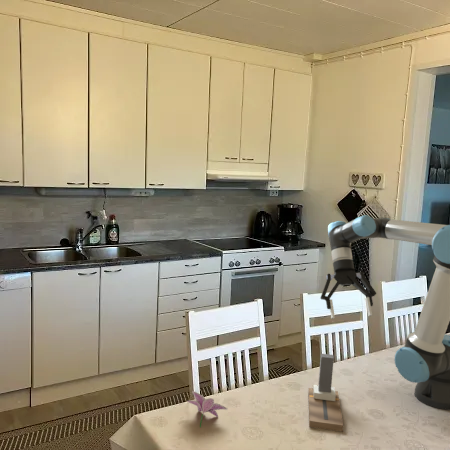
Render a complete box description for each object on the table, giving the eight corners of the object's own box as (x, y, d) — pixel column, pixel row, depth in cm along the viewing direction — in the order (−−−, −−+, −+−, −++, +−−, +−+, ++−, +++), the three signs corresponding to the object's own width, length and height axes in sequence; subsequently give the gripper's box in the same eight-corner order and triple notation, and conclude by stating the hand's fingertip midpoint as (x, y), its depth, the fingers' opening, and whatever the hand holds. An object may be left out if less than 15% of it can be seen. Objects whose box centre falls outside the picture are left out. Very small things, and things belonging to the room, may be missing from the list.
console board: (308, 393, 163) (308, 387, 162) (337, 396, 161) (337, 391, 161) (309, 426, 141) (309, 420, 141) (342, 431, 140) (343, 425, 139)
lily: (230, 430, 139) (233, 396, 143) (202, 427, 131) (206, 392, 135) (202, 426, 147) (206, 394, 151) (174, 423, 139) (179, 390, 143)
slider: (313, 390, 160) (316, 351, 159) (333, 392, 159) (337, 353, 157) (313, 398, 154) (316, 358, 153) (335, 401, 153) (338, 360, 152)
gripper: (372, 261, 181) (382, 316, 173) (308, 266, 181) (315, 320, 173) (378, 256, 174) (388, 312, 166) (311, 260, 174) (319, 316, 166)
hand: (351, 316), depth 170 cm, fingers open, 13 cm apart
